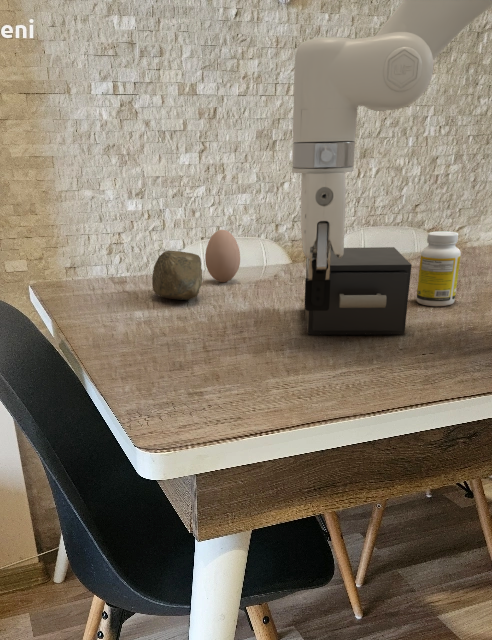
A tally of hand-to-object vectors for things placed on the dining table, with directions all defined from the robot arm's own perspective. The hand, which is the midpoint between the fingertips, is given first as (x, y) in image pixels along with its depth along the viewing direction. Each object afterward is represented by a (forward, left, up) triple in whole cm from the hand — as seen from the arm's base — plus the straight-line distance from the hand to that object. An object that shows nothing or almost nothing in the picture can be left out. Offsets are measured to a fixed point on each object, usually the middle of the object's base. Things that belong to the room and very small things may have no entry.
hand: (316, 309), depth 90 cm
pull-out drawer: (-6, -8, -4) cm, 10 cm away
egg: (+16, -43, -5) cm, 46 cm away
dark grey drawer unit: (-6, -12, -5) cm, 14 cm away
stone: (+23, -29, -5) cm, 37 cm away
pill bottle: (-21, -24, -5) cm, 32 cm away
